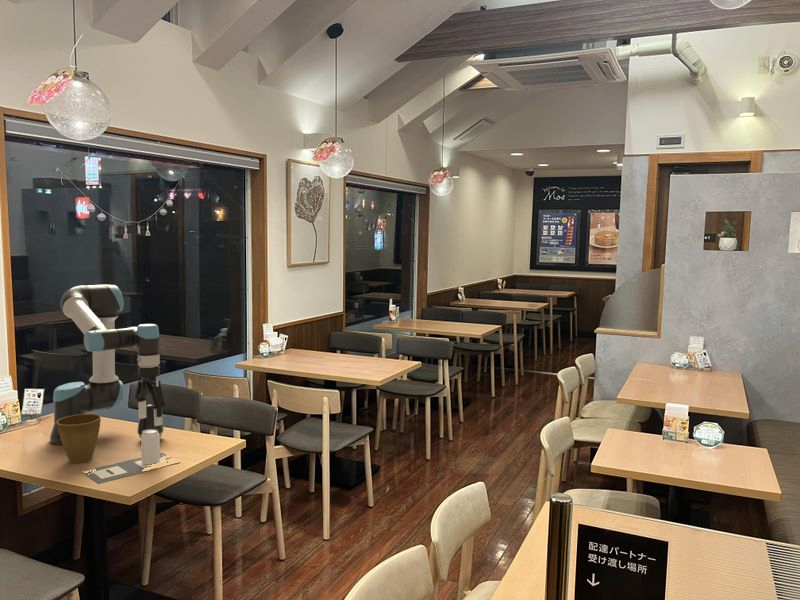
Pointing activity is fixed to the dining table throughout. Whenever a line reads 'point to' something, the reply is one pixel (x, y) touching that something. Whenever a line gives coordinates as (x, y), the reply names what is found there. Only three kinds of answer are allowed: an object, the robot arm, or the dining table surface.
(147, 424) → the pump dispenser
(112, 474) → the label panel
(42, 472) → the dining table surface
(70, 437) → the plant pot
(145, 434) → the can
